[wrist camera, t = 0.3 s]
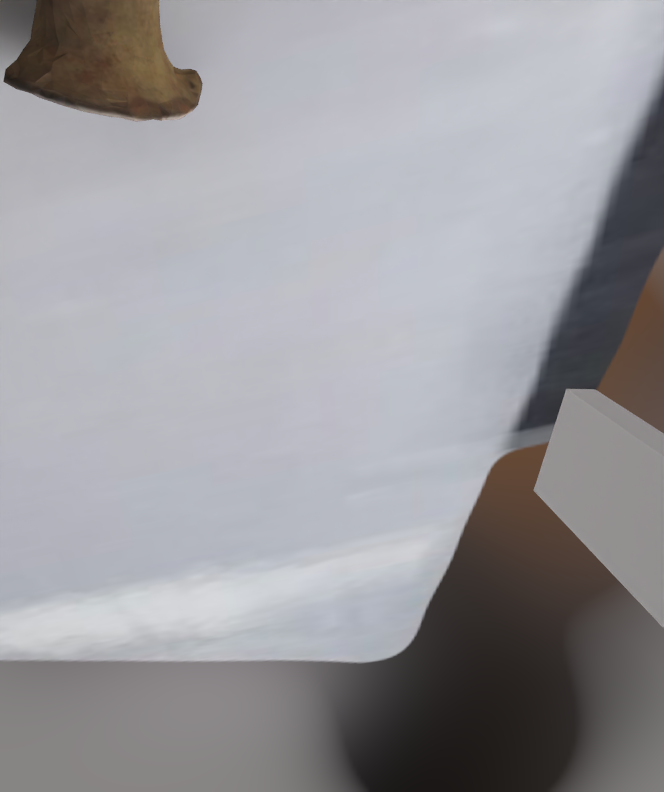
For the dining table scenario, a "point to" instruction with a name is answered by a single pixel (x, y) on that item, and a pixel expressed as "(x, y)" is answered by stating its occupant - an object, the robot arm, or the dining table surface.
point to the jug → (104, 61)
